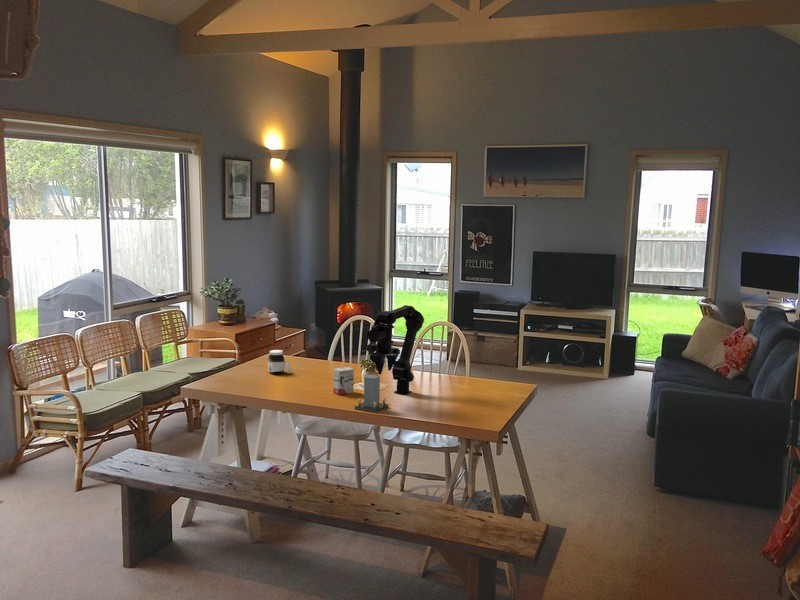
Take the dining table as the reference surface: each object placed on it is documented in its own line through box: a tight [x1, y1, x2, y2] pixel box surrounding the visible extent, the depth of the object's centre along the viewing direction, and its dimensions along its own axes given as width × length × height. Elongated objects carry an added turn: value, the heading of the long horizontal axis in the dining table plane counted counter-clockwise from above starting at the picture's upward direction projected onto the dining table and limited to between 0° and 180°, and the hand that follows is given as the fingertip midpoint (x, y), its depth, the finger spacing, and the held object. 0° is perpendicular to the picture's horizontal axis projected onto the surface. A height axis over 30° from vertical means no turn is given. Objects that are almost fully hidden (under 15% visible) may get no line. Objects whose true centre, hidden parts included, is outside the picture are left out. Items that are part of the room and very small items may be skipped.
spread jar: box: [267, 349, 292, 375], centre depth 366 cm, size 12×11×12 cm
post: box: [363, 374, 381, 408], centre depth 307 cm, size 5×5×13 cm
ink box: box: [333, 366, 355, 396], centre depth 330 cm, size 9×5×12 cm, turn 126°
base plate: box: [354, 397, 389, 414], centre depth 307 cm, size 11×11×4 cm
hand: (384, 372), depth 319 cm, fingers open, 9 cm apart
